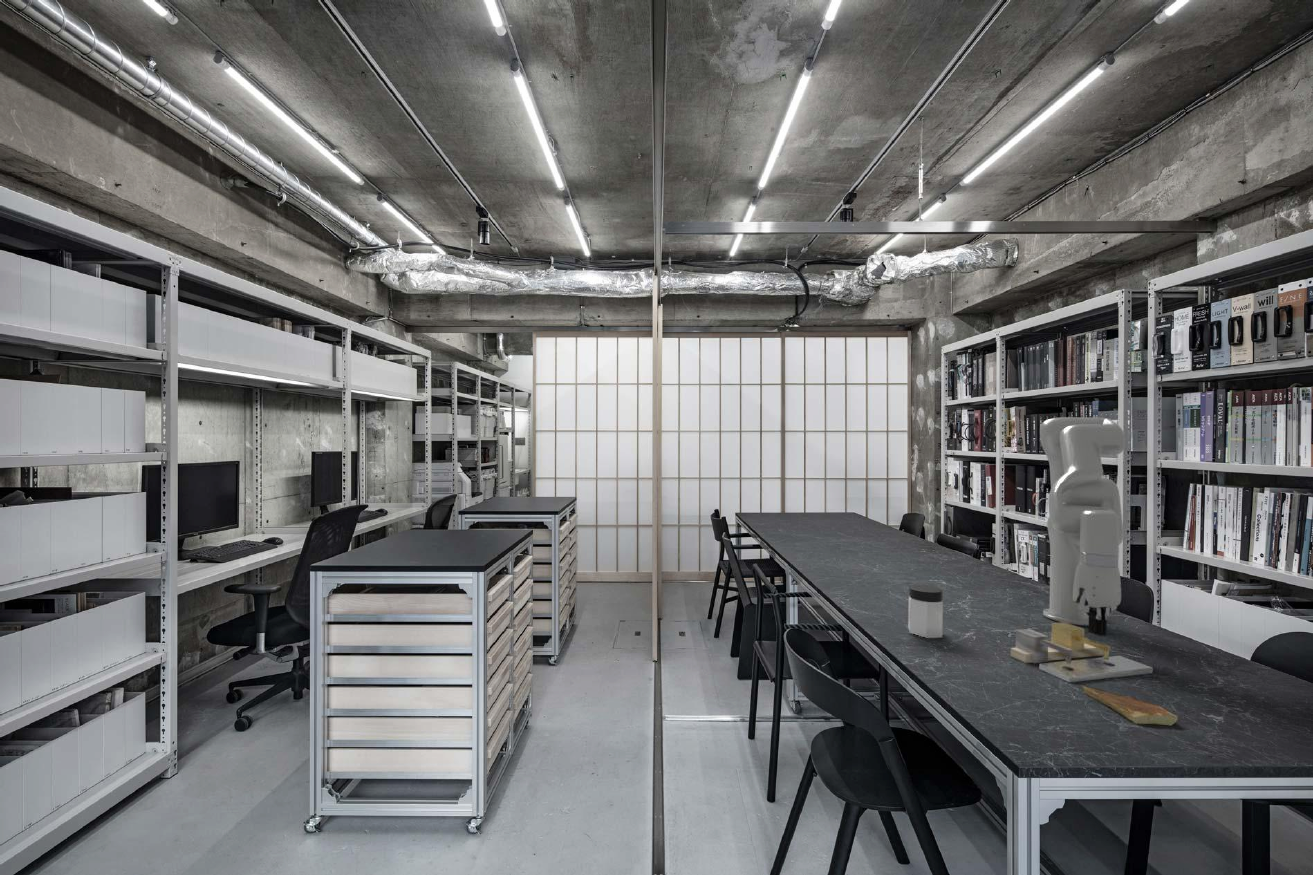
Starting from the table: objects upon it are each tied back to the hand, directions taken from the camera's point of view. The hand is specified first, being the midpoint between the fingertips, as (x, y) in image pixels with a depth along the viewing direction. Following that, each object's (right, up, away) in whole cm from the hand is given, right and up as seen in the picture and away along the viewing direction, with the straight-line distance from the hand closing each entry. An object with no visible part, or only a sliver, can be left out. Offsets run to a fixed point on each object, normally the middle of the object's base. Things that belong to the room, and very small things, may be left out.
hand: (1097, 633), depth 137 cm
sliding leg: (-9, -2, -6) cm, 11 cm away
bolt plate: (-10, -4, -12) cm, 16 cm away
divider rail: (-11, -4, -7) cm, 14 cm away
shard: (-19, -5, -31) cm, 37 cm away
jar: (-38, -4, +11) cm, 39 cm away
